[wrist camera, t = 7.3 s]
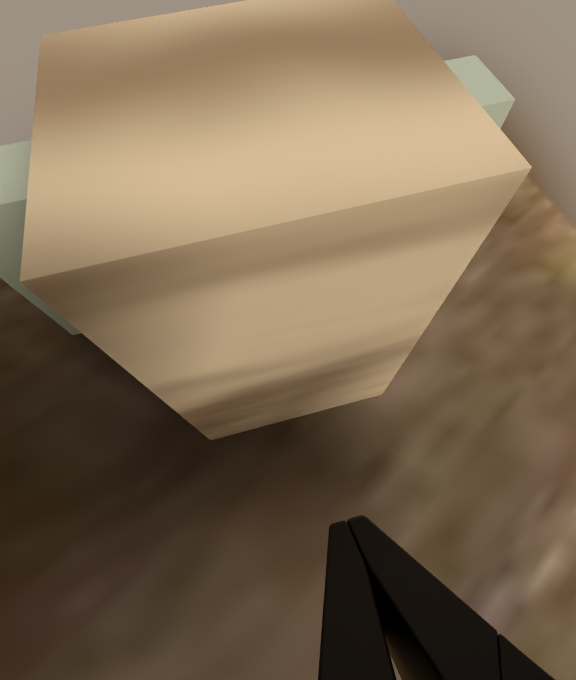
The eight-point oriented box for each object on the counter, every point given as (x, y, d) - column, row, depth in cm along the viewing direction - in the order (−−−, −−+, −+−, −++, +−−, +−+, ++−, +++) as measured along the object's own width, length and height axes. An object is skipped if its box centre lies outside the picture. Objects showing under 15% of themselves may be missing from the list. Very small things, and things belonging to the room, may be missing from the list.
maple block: (382, 394, 17) (532, 167, 6) (210, 440, 16) (19, 281, 5) (334, 274, 20) (375, -22, 9) (189, 308, 19) (40, 35, 8)
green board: (438, 248, 20) (515, 99, 13) (72, 335, 18) (-74, 219, 11) (416, 210, 21) (475, 54, 14) (72, 288, 20) (-59, 156, 13)
